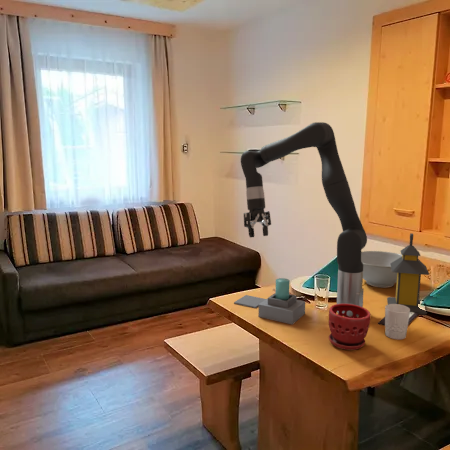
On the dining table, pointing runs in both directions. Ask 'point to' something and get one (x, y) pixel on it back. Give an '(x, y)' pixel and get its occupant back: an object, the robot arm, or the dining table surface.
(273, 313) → the gray socket block
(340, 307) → the plant pot
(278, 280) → the teal cylindrical peg
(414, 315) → the chocolate bar
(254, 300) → the mat
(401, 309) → the white cup
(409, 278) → the lantern
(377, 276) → the decorative bowl
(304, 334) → the dining table surface
